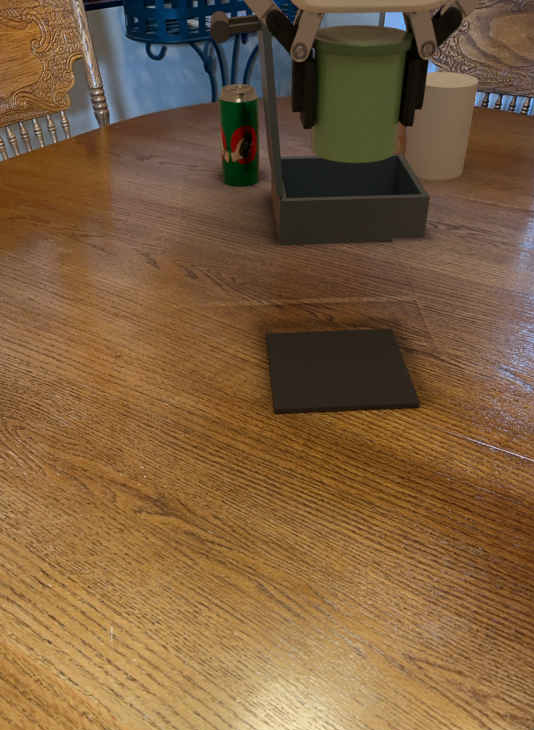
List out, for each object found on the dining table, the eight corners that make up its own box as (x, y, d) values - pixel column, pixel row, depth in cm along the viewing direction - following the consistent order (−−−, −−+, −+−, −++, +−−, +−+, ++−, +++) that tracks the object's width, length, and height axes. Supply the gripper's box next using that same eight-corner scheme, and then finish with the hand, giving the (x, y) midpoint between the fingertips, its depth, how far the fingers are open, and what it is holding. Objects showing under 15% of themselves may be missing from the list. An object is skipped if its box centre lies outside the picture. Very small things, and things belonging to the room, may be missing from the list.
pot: (390, 134, 52) (401, 24, 48) (408, 163, 47) (423, 44, 43) (302, 136, 52) (305, 25, 47) (311, 166, 47) (316, 46, 42)
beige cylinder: (467, 169, 100) (484, 75, 92) (453, 188, 94) (470, 90, 86) (412, 162, 102) (423, 69, 94) (395, 180, 97) (406, 83, 89)
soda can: (266, 183, 96) (266, 86, 88) (245, 195, 93) (242, 95, 85) (237, 176, 98) (233, 81, 90) (215, 187, 95) (210, 89, 87)
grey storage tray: (397, 199, 92) (402, 153, 88) (422, 247, 81) (430, 196, 77) (271, 203, 91) (271, 156, 87) (279, 251, 80) (280, 200, 76)
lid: (260, -17, 75) (207, -10, 75) (269, 6, 64) (206, 14, 64) (274, 152, 87) (228, 158, 87) (283, 196, 76) (230, 202, 76)
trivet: (391, 332, 67) (392, 328, 66) (419, 407, 58) (420, 402, 57) (266, 337, 66) (266, 332, 66) (274, 413, 57) (274, 408, 57)
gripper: (217, -259, 33) (232, 142, 45) (572, -259, 34) (493, 136, 46) (216, -244, 39) (229, 110, 51) (521, -244, 40) (463, 105, 52)
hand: (355, 119), depth 48 cm, fingers closed on pot, 6 cm apart
